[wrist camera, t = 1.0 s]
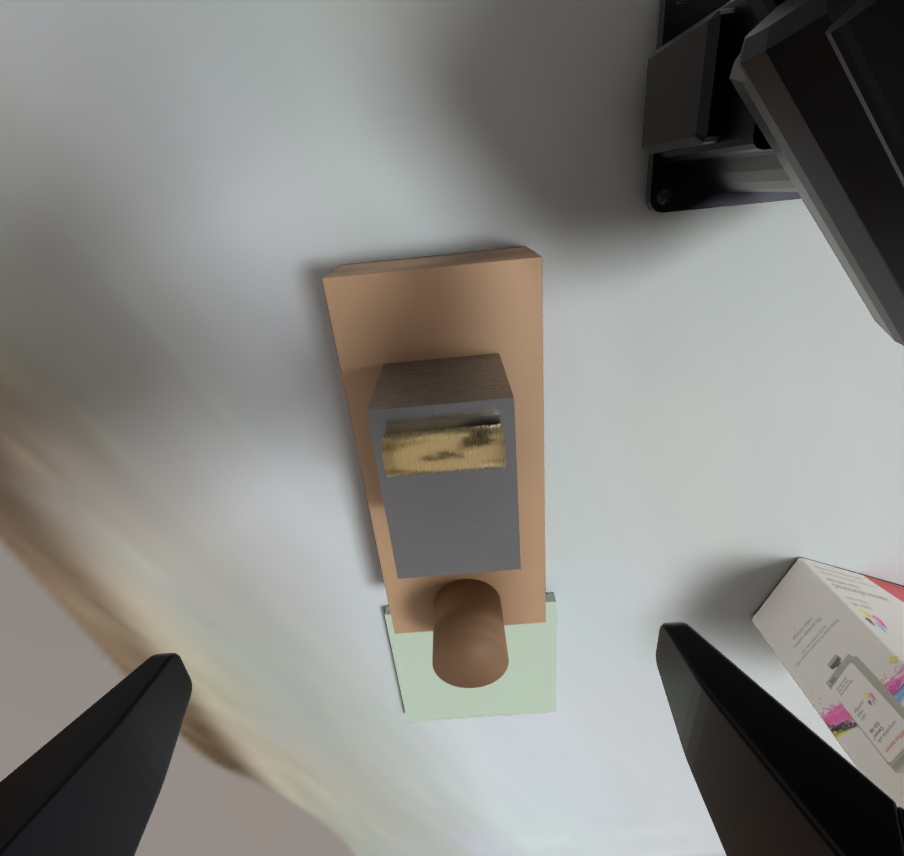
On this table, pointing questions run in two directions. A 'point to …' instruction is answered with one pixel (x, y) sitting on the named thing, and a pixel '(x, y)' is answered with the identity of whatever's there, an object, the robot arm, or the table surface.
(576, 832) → the table surface
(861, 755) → the ink cartridge box
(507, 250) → the body
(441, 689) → the mat
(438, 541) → the lever cap
